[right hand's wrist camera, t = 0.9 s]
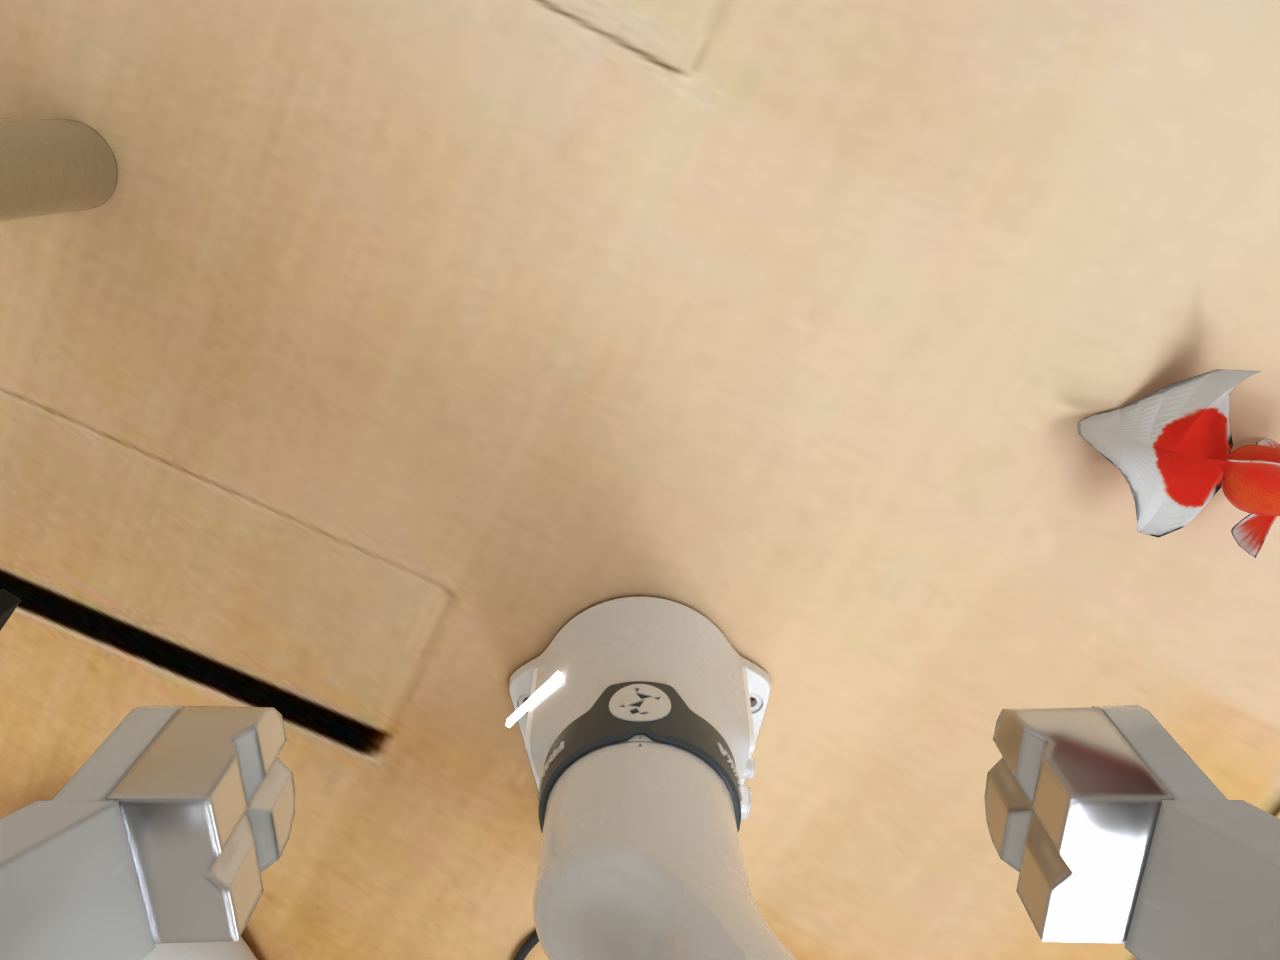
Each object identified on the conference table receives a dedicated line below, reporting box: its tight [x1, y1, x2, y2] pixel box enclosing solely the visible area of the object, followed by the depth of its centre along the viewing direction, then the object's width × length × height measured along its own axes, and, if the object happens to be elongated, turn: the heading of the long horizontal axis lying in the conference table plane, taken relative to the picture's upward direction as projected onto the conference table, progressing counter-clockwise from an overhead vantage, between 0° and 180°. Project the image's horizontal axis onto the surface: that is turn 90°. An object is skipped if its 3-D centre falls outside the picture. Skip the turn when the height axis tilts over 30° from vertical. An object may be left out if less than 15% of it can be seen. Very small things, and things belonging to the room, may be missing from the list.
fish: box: [1078, 369, 1280, 558], centre depth 56 cm, size 11×16×10 cm
